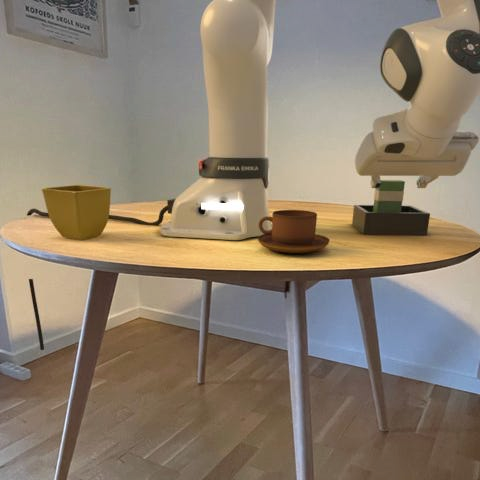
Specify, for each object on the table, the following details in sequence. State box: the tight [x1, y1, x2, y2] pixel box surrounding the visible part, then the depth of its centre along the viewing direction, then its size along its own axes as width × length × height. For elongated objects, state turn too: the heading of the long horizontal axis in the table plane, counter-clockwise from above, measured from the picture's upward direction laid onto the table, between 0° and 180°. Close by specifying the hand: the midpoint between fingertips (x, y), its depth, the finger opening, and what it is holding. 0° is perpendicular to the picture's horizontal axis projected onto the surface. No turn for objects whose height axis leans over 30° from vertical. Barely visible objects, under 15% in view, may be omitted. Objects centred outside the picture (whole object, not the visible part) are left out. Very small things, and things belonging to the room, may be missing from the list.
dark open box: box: [351, 204, 431, 236], centre depth 98 cm, size 13×12×4 cm
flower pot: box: [41, 184, 112, 241], centre depth 86 cm, size 9×9×9 cm
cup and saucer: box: [257, 209, 330, 254], centre depth 79 cm, size 12×12×6 cm
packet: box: [373, 179, 406, 213], centre depth 99 cm, size 5×4×9 cm
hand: (397, 185), depth 94 cm, fingers open, 8 cm apart
